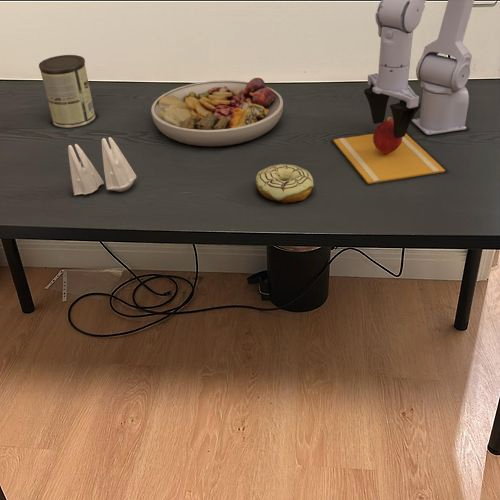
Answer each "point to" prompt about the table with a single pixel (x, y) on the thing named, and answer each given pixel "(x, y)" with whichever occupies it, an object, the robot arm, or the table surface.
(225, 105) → the bowl
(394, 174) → the towel
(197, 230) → the table surface
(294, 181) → the decorated donut
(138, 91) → the table surface
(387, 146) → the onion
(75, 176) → the shaker set
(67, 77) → the coffee can
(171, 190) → the table surface
